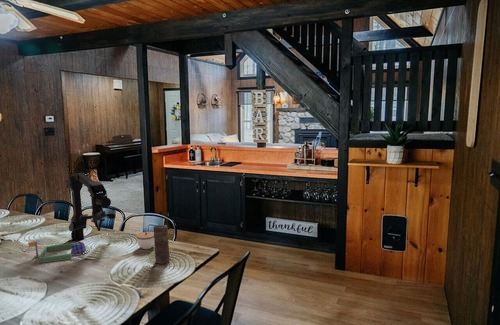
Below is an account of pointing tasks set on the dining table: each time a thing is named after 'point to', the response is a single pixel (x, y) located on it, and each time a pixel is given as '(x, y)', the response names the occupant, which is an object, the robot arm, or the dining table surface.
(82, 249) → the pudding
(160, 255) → the candle
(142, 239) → the lidded jar
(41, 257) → the frame
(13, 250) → the dining table surface
